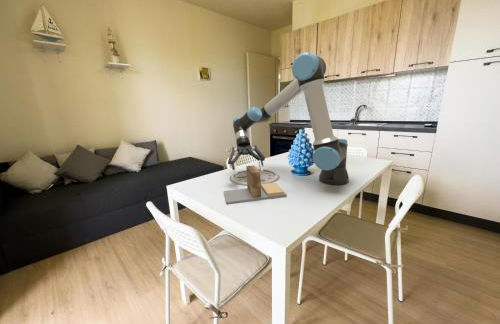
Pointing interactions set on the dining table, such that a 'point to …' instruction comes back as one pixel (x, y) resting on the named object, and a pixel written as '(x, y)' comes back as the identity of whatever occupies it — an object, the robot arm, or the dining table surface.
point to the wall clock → (265, 177)
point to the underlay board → (244, 196)
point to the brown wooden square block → (253, 181)
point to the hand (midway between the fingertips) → (249, 173)
